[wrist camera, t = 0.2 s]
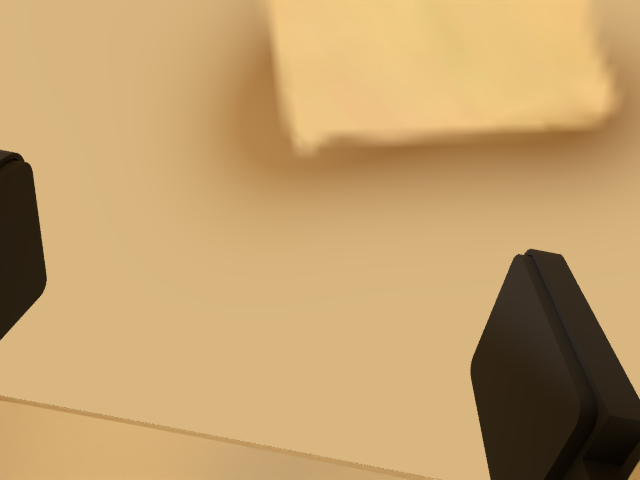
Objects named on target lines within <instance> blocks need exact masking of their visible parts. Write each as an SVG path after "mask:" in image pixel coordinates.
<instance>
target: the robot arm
mask: <svg viewBox="0 0 640 480" xmlns="http://www.w3.org/2000/svg"><path fill="white" fill-rule="evenodd" d="M46 281H47V277H46V269H45V261H44V253H43V246H42V239H41V231H40V223H39V216H38V208H37V201H36V193H35V186H34V178H33V171H32V168H31V166H30V164H28V163H27V162H24V159H23V158H22V156H21V155H20V154H18V153H14V152H9V151H3V150H0V340H1V339H2V338H3V337H4V336H5V334H6V333H7V332H8V331H9V330H10V329H11V328H12V327H13V326H14V325H15V323H16V322H17V321H18V320H19V319H20V318H21V317H22V316H23V315H24V313H25V312H26V311H27V310H28V309H29V308H30V307H31V306H32V305H33V304H34V302H35V301H36V300H37V299H38V298H39V297H40V296H41V294H42V293H43V291H44V289H45V286H46ZM471 380H472V385H473V390H474V396H475V401H476V406H477V411H478V416H479V422H480V427H481V432H482V437H483V442H484V447H485V452H486V457H487V463H488V468H489V473H490V479H491V480H640V399H639V397H638V395H637V394H636V392H635V390H634V388H633V386H632V384H631V383H630V381H629V379H628V377H627V375H626V373H625V371H624V369H623V367H622V366H621V364H620V362H619V360H618V358H617V356H616V354H615V353H614V351H613V349H612V347H611V345H610V343H609V341H608V339H607V338H606V336H605V334H604V332H603V330H602V328H601V326H600V325H599V323H598V321H597V319H596V317H595V315H594V313H593V311H592V310H591V308H590V306H589V304H588V302H587V300H586V298H585V297H584V295H583V293H582V291H581V289H580V287H579V285H578V284H577V282H576V280H575V278H574V276H573V274H572V272H571V271H570V269H569V267H568V265H567V263H566V261H565V259H564V257H563V256H562V255H560V254H556V253H550V252H544V251H539V250H534V249H529V250H527V252H526V253H525V254H524V255H520V254H518V255H516V256H515V257H514V259H513V261H512V263H511V266H510V268H509V271H508V273H507V275H506V278H505V280H504V283H503V285H502V288H501V290H500V292H499V295H498V297H497V300H496V302H495V305H494V307H493V310H492V312H491V314H490V317H489V319H488V322H487V324H486V326H485V329H484V331H483V334H482V336H481V339H480V341H479V344H478V346H477V348H476V351H475V353H474V356H473V358H472V362H471ZM0 480H439V479H434V478H430V477H424V476H420V475H415V474H410V473H404V472H399V471H394V470H389V469H384V468H379V467H374V466H368V465H363V464H358V463H353V462H348V461H343V460H337V459H332V458H327V457H322V456H317V455H312V454H307V453H302V452H296V451H291V450H286V449H281V448H275V447H270V446H266V445H260V444H255V443H250V442H245V441H239V440H234V439H228V438H224V437H218V436H213V435H208V434H203V433H197V432H192V431H187V430H181V429H176V428H171V427H166V426H160V425H155V424H150V423H144V422H139V421H133V420H129V419H123V418H118V417H113V416H107V415H102V414H96V413H91V412H86V411H81V410H75V409H70V408H65V407H59V406H54V405H48V404H43V403H37V402H32V401H26V400H21V399H16V398H10V397H5V396H0Z"/></svg>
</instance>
